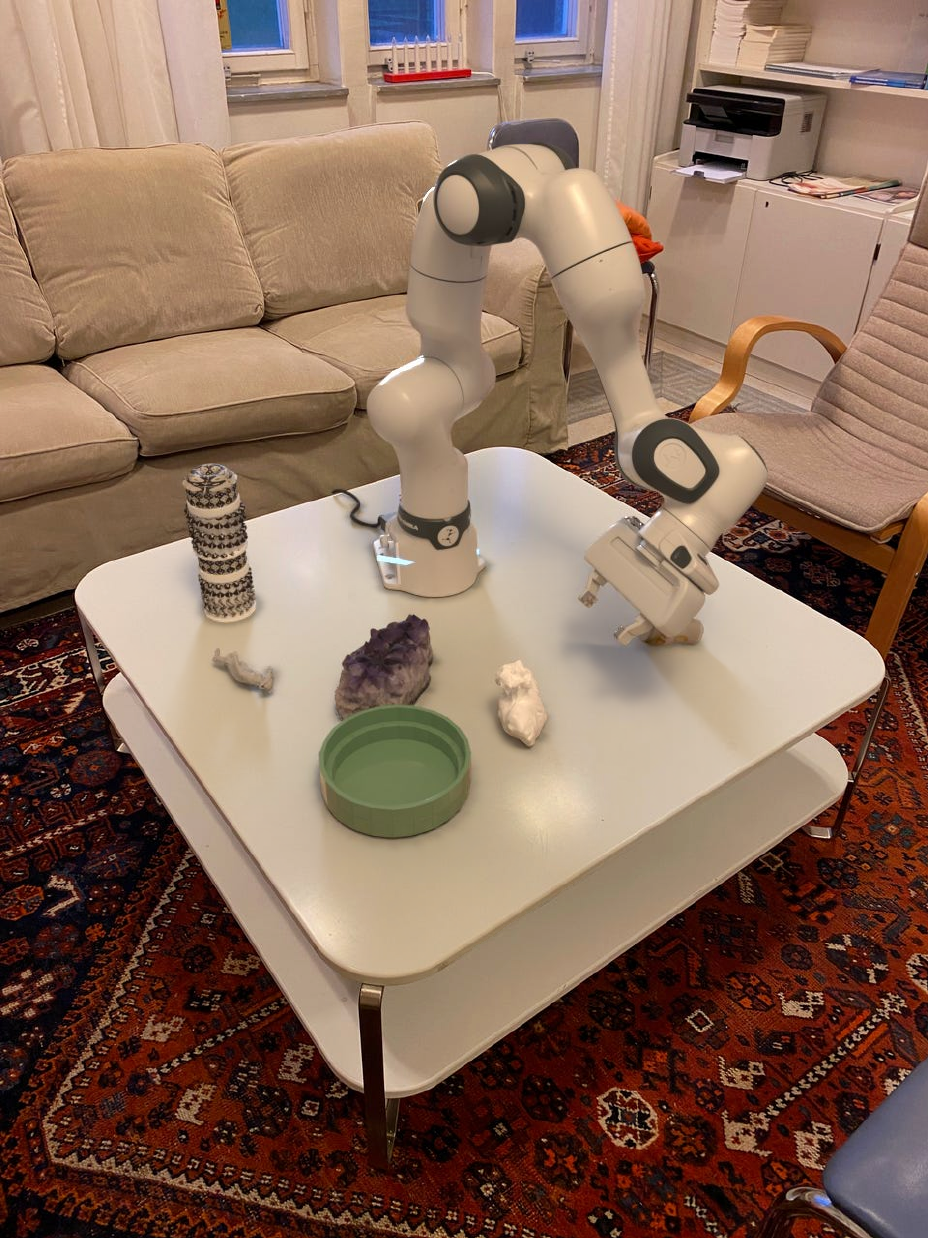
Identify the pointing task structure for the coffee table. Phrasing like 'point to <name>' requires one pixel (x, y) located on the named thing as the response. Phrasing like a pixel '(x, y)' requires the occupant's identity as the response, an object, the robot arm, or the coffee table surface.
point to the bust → (520, 703)
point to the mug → (688, 635)
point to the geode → (386, 668)
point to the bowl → (395, 770)
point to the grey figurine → (245, 671)
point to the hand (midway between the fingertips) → (600, 621)
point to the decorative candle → (219, 542)
